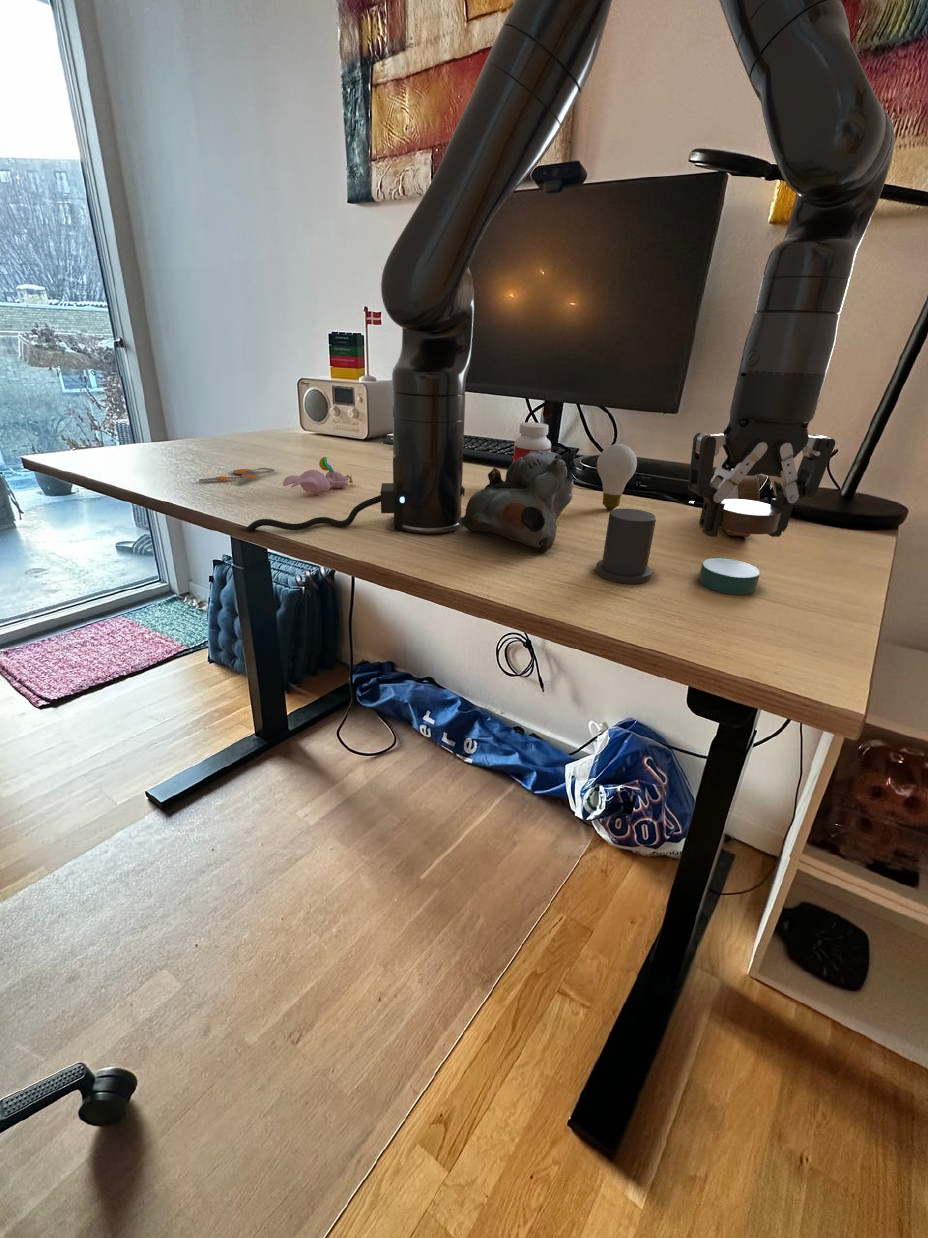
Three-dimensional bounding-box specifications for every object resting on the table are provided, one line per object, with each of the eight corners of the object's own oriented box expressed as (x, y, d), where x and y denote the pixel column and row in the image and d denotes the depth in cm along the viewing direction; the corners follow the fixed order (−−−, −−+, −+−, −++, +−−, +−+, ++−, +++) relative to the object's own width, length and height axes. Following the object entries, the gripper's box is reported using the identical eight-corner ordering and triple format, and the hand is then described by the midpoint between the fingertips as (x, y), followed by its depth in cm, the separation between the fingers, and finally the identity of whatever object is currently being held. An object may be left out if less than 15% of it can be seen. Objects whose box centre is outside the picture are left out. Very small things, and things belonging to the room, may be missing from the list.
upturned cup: (604, 584, 64) (614, 522, 61) (589, 563, 69) (597, 506, 66) (659, 584, 64) (671, 523, 61) (639, 564, 70) (649, 507, 67)
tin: (752, 545, 78) (768, 482, 74) (727, 542, 79) (742, 480, 75) (729, 514, 91) (742, 460, 88) (708, 513, 92) (720, 458, 88)
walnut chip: (729, 534, 59) (733, 515, 58) (700, 516, 65) (704, 498, 64) (789, 534, 60) (795, 515, 59) (755, 516, 65) (760, 498, 64)
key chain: (249, 468, 108) (249, 463, 107) (281, 472, 105) (280, 468, 105) (195, 481, 97) (194, 476, 97) (229, 487, 95) (228, 482, 94)
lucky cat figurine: (452, 523, 81) (494, 430, 80) (528, 559, 83) (571, 468, 82) (464, 524, 66) (515, 410, 65) (556, 567, 68) (608, 457, 67)
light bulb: (587, 511, 90) (596, 445, 86) (594, 502, 95) (603, 439, 91) (626, 516, 88) (637, 449, 84) (631, 507, 93) (642, 443, 89)
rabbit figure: (330, 490, 101) (270, 494, 88) (331, 454, 99) (270, 453, 86) (360, 495, 99) (304, 500, 86) (362, 458, 97) (305, 458, 84)
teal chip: (713, 594, 62) (717, 577, 61) (689, 573, 68) (693, 557, 67) (766, 594, 63) (771, 577, 62) (738, 573, 68) (742, 557, 67)
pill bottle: (507, 486, 103) (511, 421, 98) (540, 486, 104) (546, 421, 99) (515, 495, 97) (521, 426, 92) (550, 495, 98) (558, 427, 93)
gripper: (828, 367, 59) (783, 524, 67) (693, 362, 58) (662, 524, 65) (881, 371, 53) (824, 546, 60) (730, 367, 51) (691, 546, 59)
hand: (740, 534), depth 63 cm, fingers closed on walnut chip, 6 cm apart
